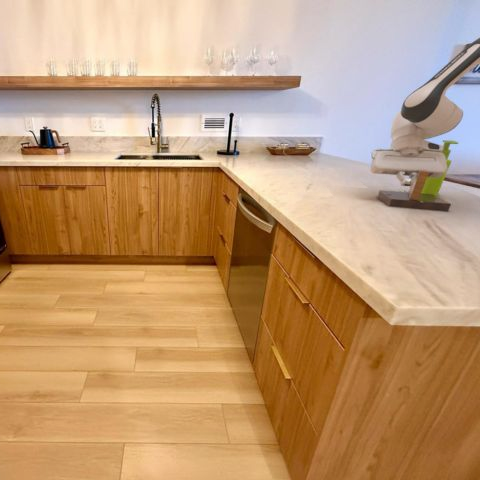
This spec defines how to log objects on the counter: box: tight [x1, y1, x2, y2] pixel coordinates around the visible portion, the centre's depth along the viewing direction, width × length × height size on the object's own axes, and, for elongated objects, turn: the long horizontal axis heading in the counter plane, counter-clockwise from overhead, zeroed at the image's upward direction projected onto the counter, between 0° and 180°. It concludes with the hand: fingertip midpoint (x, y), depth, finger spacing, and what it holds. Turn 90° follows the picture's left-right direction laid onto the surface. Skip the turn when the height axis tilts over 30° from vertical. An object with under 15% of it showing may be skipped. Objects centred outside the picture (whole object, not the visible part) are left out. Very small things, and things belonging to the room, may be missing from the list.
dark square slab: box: [376, 189, 452, 212], centre depth 99 cm, size 16×15×3 cm
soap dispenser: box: [421, 140, 459, 197], centre depth 107 cm, size 6×7×20 cm
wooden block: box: [407, 170, 429, 201], centre depth 96 cm, size 11×2×9 cm, turn 144°
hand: (406, 185), depth 95 cm, fingers closed
